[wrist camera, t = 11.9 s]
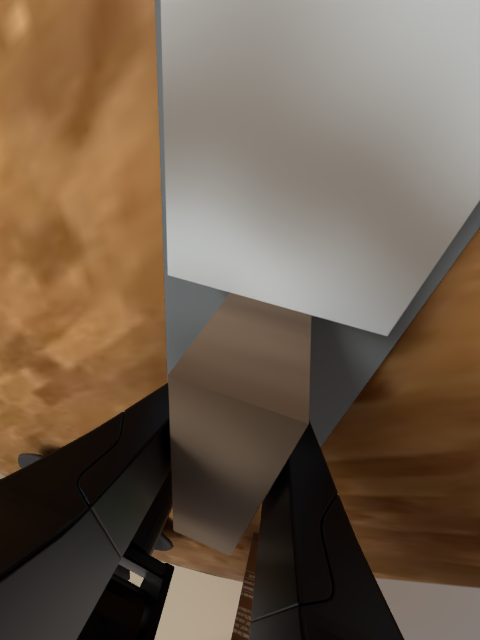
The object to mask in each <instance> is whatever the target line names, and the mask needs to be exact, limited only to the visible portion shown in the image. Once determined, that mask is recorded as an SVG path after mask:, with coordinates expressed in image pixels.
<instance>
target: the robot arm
mask: <svg viewBox="0 0 480 640" xmlns="http://www.w3.org/2000/svg"><path fill="white" fill-rule="evenodd" d="M337 493H338V492H337V489H336V486H335V484H334V481H333V479H332V476H331V474H330V471H329V469H328V466H327V463H326V461H325V458H324V456H323V453H322V451H321V448H320V445H319V443H318V440H317V438H316V435H315V433H314V430H313V428H312V425H311V422H310V420H309V424H308V426H307V428H306V429H305V431H304V433H303V434H302V436H301V438H300V439H299V441H298V443H297V445H296V446H295V448H294V450H293V451H292V453H291V455H290V456H289V458H288V460H287V461H286V463H285V465H284V466H283V468H282V470H281V471H280V473H279V475H278V477H277V478H276V480H275V482H274V483H273V485H272V487H271V488H270V490H269V492H268V493H267V495H266V497H265V498H264V500H263V502H262V512H261V522H260V532H259V542H258V552H257V562H256V572H255V582H254V592H253V602H252V612H251V623H250V631H249V640H404V638H403V636H402V634H401V632H400V630H399V628H398V626H397V623H396V621H395V620H394V617H393V615H392V613H391V611H390V609H389V607H388V605H387V602H386V600H385V598H384V596H383V594H382V592H381V590H380V588H379V586H378V584H377V582H376V579H375V577H374V575H373V573H372V571H371V569H370V567H369V565H368V562H367V560H366V558H365V556H364V554H363V552H362V549H361V547H360V545H359V543H358V541H357V539H356V536H355V534H354V531H353V529H352V527H351V524H350V522H349V519H348V517H347V514H346V512H345V509H344V507H343V504H342V502H341V499H340V496H339V495H337ZM172 507H173V503H172V474H171V445H170V416H169V387H168V383H167V384H165V385H163V386H162V387H160V388H159V389H157V390H156V391H154V392H153V393H151V394H149V395H148V396H146V397H145V398H143V399H142V400H140V401H139V402H137V403H135V404H134V405H132V406H131V407H129V408H128V409H126V410H125V412H121V413H120V414H118V415H117V416H115V417H113V418H112V419H110V420H109V421H107V422H105V423H104V424H102V425H101V426H99V427H97V428H96V429H94V430H92V431H91V432H89V433H87V434H85V435H83V436H82V437H80V438H78V439H76V440H74V441H73V442H71V443H69V444H67V445H65V446H63V447H61V448H59V449H58V450H56V451H54V452H52V453H50V454H48V455H46V456H44V457H43V458H41V459H39V460H37V461H35V462H33V463H31V464H29V465H28V466H26V467H24V468H22V469H20V470H18V471H16V472H14V473H12V474H10V475H8V476H6V477H5V478H2V479H0V640H154V638H155V635H156V631H157V628H158V624H159V621H160V617H161V614H162V610H163V607H164V603H165V600H166V596H167V592H168V589H169V585H170V581H171V578H172V574H173V571H174V566H172V565H170V564H168V563H162V562H161V561H159V560H157V559H155V558H154V557H152V556H151V555H152V553H153V551H154V548H155V546H156V544H157V541H158V539H159V537H160V535H161V532H162V530H163V528H164V525H165V523H166V521H167V519H168V516H169V514H170V512H171V509H172ZM118 564H119V565H121V566H123V567H125V568H127V569H128V570H130V571H132V572H134V573H136V574H138V575H139V576H141V577H143V578H144V580H143V582H142V584H141V586H140V587H138V586H136V585H134V584H133V583H131V582H129V581H127V580H125V579H124V578H122V577H120V576H118V575H116V574H114V571H115V569H116V567H117V566H118Z"/></svg>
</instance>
